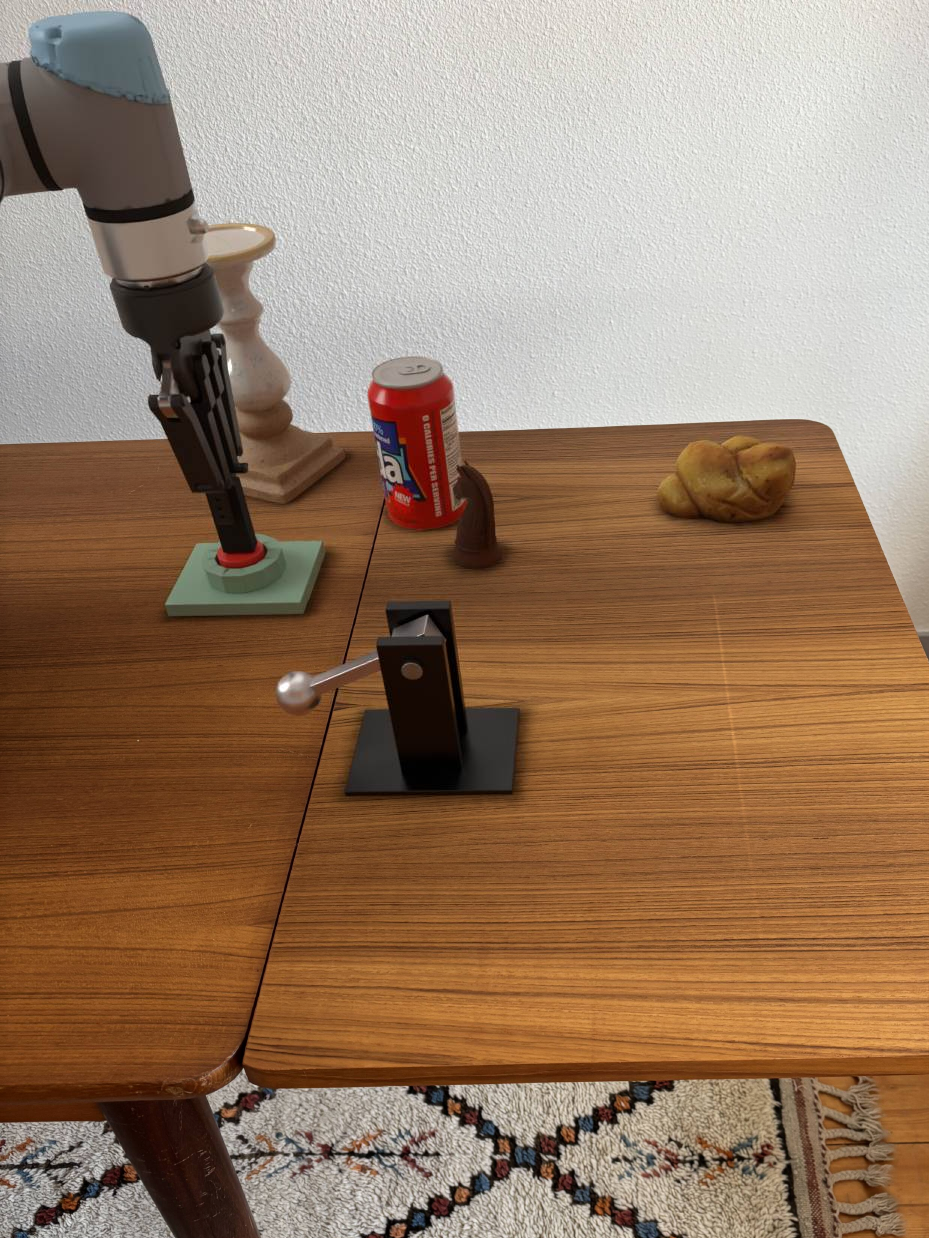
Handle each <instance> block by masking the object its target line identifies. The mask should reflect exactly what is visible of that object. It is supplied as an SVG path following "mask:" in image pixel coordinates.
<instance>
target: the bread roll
mask: <svg viewBox="0 0 929 1238" xmlns="http://www.w3.org/2000/svg"><path fill="white" fill-rule="evenodd" d="M796 468H797V461H796V457H795V454H794V451H793V449H792V448H791V447H790V446H788V445H785V444H782V443H773V442H763V441H761V440H759V439H757V438H753V437H750V436H745V435H743V434H739V435H735V436H733V437H731V438H730V439H727V440H726V441H724V442H722V443H721V444H719V443H717V442H714V441H712V440H709V439H705V440H703V439H701V440H697V441H693V442H690V443H689V444H688V445H687V446H686V447H685V448H684V449H683V450H682V451H681V453H680V454H679V455H678V457H677V459H676V464H675V470H676V471H675V472H674V473H671V474H670V475H669V476H667V477H665V478H664V479H663V480H662V481H661V483H660V484H659V486H658V488H657V491H656V497H657V501H658V504H659V506H660V508H661V509H662V510H663V511H664V512H665V513H667V514H669V515H672V516H675V517H678V518H682V519H699V518H707V519H711V520H713V521H717V522H720V523H746V522H755V521H761V520H764V519H767V518H769V517H771V516H773V515H774V514H775V513H776V512H778V510H779V509H780V508H781V507H782V506H783V502H784V501H785V500H786V496H787V495H788V494H789V492H790V491H791V489H792V488H793V486H794V483H795V480H796V473H797V471H796V470H797V469H796Z"/></svg>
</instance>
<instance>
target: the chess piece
mask: <svg viewBox="0 0 929 1238" xmlns="http://www.w3.org/2000/svg"><path fill="white" fill-rule="evenodd" d="M456 466H457V468H456V470H457V471H458V473H459V475H460V476H461V477H459V478H458V479H457V480H458V481H457V483H456V485H455V487H454V488H453V493H454V495H456V494H457V495H456V496H455V497H456V498H457V500H459V499H461V498H466V499H467V498H468V501H467V505H466V507H465V509H464V511H463V513H462V515H461V517H460V518H459V520H458V524H457V528H456V533H455V534H456V535H455V539H454V545H455V546H454V548H453V551H452V552H453V553H452V555H453V556H452V557H453V560H454V562H455V564H457V565H458V566H459V567H461V568H464V569H469V570H480V569H487V568H489V567H491V566H494V565H495V564H497V562H499V561H500V559H501V557H502V548H501V546H500V544H499V543H498V538H497V535H496V521H495V520H496V518H495V504H494V503H495V502H494V497H493V493H492V490H491V487H490V484H489V483H488V481H487V480H486V478H485V477H484V475H483V474H482V473H481V472H480V471H479V470H478V469H476V468H475V467H474V466H472V465H470V464H469V462H467V460H464V461H463V464H462V466H459V465H456Z"/></svg>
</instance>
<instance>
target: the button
mask: <svg viewBox="0 0 929 1238" xmlns="http://www.w3.org/2000/svg"><path fill="white" fill-rule="evenodd" d="M217 556H218V559H219V562H220V565H221V566H222V567H225V568H228V569H242V568H245V567H249V566H252V565H255V564H257V563H258V562H260V561H261V560H263V559H264V558H265V556H266V555H265V552H264V548H263V545H262V543H261V542H260V541H258V540H257V545H256V548H255V550H254V552H231V553H223V550H222V546H221V547H220V548H219V550H218V552H217Z"/></svg>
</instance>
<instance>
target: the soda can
mask: <svg viewBox="0 0 929 1238" xmlns="http://www.w3.org/2000/svg"><path fill="white" fill-rule="evenodd" d="M444 371H445V370H444V365H443V363H441V362H440V361H438V359H437V360H436V359H434V358H432V357H427V356H419V355H417V356H416V355H415V356H414V355H413V356H411V355H410V356H409V355H408V356H402V357H401V356H400V357H396V358H392V359H389V360H386V361H383V362H381V363H380V364H378V365H376V366H375V367H374V368H373V369H372V372H371V379H372V380H371V382H370V383H369V386H368V388H367V392H366V394H367V395H366V396H367V401H368V402H367V403H368V407H369V413H370V420H371V425H372V431H373V437H374V443H375V447H376V453H377V454H376V455H377V458H378V465H379V471H380V476H381V477H380V478H381V481H382V488H383V494H384V500H385V505H386V510H387V514H388V517H389V519H390V521H392V522H393V523H394V524H395V525H397V526H399V527H402V528H405V529H408V530H415V531H425V530H427V531H428V530H435V529H439V528H443V527H446V526H449V525H451V524H453V523H456V522H457V521H459V520H460V518H461V515H462V513H463V511H464V509H465V507H466V505H467V504H468V501H467V498H461V499H459V500H457V498H456V497H455V496H456V495H457V494H456V495H454V493H453V488H454V487H455V485H456V483H457V481H458V480H457V479H458V478H459V477H461V476H460V475H459V473H458V471H457V470H456V468H457V466H456V465H459V466H462V465H463V459H462V449H461V442H460V434H459V433H460V432H459V425H458V416H457V407H456V398H455V391H454V384H453V381H452V379H451V378H450V377H449V376H448V375H447V374H446V373H445V372H444Z"/></svg>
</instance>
